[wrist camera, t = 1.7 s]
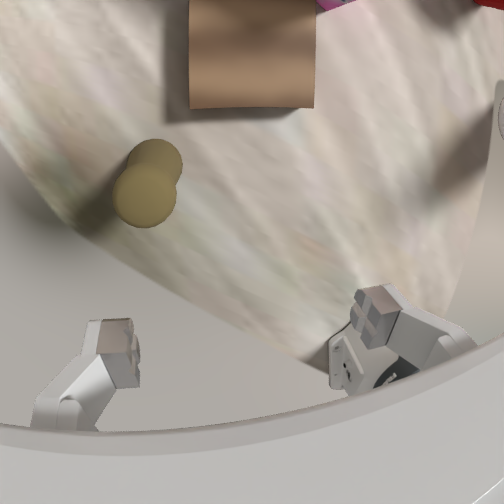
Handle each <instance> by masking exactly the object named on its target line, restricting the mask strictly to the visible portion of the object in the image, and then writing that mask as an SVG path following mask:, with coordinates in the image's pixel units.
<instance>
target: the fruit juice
mask: <svg viewBox="0 0 504 504" xmlns="http://www.w3.org/2000/svg"><path fill="white" fill-rule="evenodd" d="M498 124H499V130H500V133H501V136H502V138H503V139H504V98H503V100H502V102H501V104H500V107H499V114H498Z"/></svg>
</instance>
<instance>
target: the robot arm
mask: <svg viewBox="0 0 504 504" xmlns="http://www.w3.org/2000/svg"><path fill="white" fill-rule="evenodd" d="M354 299H355V301H356V303H355V304H354V305H353V306H352V307H351V311H350V321H351V323H350V324H349V325H348V326H347V327H346V328H345V329H344V330H343V331H341V332H340V333H338V334H336V335H335V336H333V337H332V338H331V339H330V340H329V385H330V387H331V388H332V389H340V390H341V389H345V390H346V392H347V394H348V396H349V397H345V398H341V399H338V400H334V401H331V402H327V403H323V404H320V405H316V406H311V407H308V408H303V409H299V410H294V411H290V412H285V413H280V414H276V415H271V416H265V417H260V418H255V419H249V420H243V421H236V422H230V423H223V424H215V425H208V426H199V427H189V428H179V429H167V430H150V431H123V432H122V431H120V432H119V431H118V432H101V431H98V429H97V428H96V427H95V425H94V424H95V423H96V421H97V420H98V418H99V416H100V415H101V414H102V412H103V410H104V409H105V407H106V406H107V404H108V403H109V401H110V400H111V398H112V397H113V395H114V393H115V392H116V389H122V388H123V389H124V388H137V387H140V371H139V368H138V364H139V363H140V348H139V342H138V338H137V336H136V335H135V334H134V325H133V322H132V319H131V318H121V319H103V320H90V321H89V322H88V324H87V328H86V332H85V336H84V341H83V345H82V350H81V355H76V356H75V357H74V359H73V360H72V361H70V363H69V364H68V365H67V366H66V367H65V368H64V369H63V370H62V371H61V372H60V373H59V374H58V375H57V376H56V377H55V378H54V379H53V380H52V381H51V382H50V383H49V384H48V385H47V386H46V387H45V388H44V390H43V391H42V392H41V393H40V394H39V395H38V396H37V397H36V400H35V405H34V410H33V415H32V420H31V425H30V427H24V426H16V425H9V424H2V423H0V504H504V333H502V334H500V335H499V336H497V337H495V338H493V339H491V340H489V341H487V342H485V343H483V344H481V345H479V346H477V344H476V343H475V342H474V341H473V340H472V338H471V337H470V336H469V335H468V334H467V333H466V331H465V330H464V329H463V328H462V327H459V326H457V325H455V324H453V323H451V322H449V321H447V320H444V319H442V318H440V317H438V316H436V315H433V314H431V313H429V312H427V311H425V310H423V309H420V308H418V307H413V306H412V305H411V304H410V303H409V302H408V300H407V299H406V298H405V297H404V296H403V295H402V294H401V293H400V291H399V290H398V289H397V288H396V287H395V286H394V285H393V284H391V283H388V284H383V285H379V286H373V287H368V288H363V289H358V290H357V291H356V293H355V296H354Z"/></svg>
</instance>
